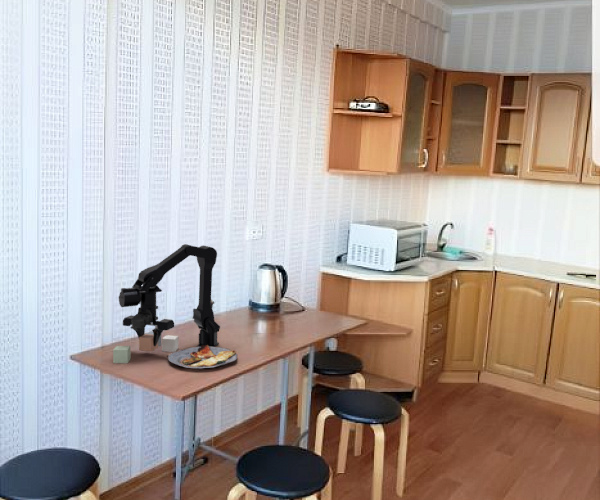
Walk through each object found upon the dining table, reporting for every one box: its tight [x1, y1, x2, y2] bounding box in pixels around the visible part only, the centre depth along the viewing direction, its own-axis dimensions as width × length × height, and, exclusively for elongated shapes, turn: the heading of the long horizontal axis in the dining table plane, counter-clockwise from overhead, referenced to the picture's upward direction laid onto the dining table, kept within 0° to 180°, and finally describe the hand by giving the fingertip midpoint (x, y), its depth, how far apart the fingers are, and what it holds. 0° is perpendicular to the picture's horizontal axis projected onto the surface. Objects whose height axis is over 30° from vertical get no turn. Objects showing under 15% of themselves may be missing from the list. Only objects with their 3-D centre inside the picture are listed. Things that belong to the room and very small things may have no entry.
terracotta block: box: [138, 334, 159, 353], centre depth 232 cm, size 5×5×5 cm
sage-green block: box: [112, 345, 131, 364], centre depth 224 cm, size 5×5×5 cm
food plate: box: [167, 345, 238, 370], centre depth 227 cm, size 25×23×4 cm
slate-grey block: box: [145, 330, 162, 347], centre depth 244 cm, size 5×5×5 cm
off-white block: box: [161, 334, 179, 353], centre depth 239 cm, size 5×5×5 cm
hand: (148, 345), depth 232 cm, fingers closed on terracotta block, 5 cm apart
